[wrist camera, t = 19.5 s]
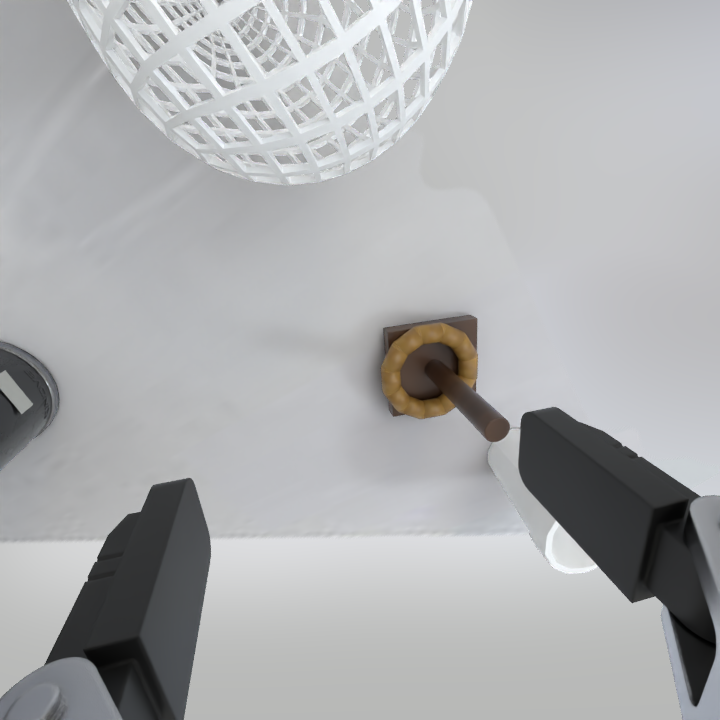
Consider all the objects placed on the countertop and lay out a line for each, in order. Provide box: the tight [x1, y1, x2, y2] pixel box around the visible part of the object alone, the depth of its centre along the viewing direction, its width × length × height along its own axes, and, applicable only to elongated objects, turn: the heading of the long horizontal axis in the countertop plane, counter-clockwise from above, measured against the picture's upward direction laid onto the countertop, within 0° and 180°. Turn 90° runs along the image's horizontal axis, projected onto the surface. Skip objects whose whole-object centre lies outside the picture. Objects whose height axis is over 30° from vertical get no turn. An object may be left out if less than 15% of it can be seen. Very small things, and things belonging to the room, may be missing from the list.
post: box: [383, 315, 510, 442], centre depth 35 cm, size 9×9×14 cm
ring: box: [381, 323, 478, 419], centre depth 39 cm, size 10×10×2 cm
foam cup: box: [488, 428, 598, 574], centre depth 41 cm, size 10×9×13 cm
